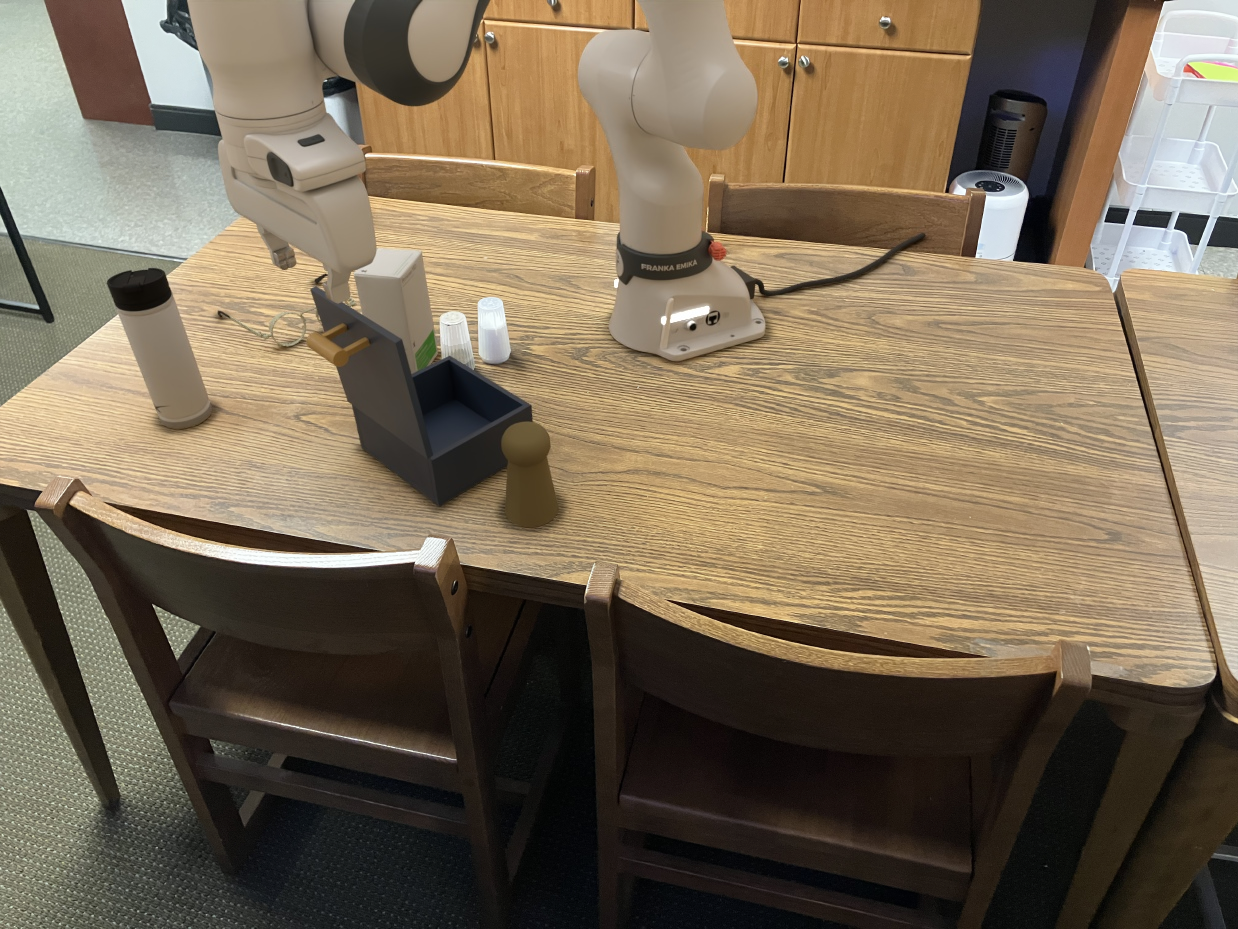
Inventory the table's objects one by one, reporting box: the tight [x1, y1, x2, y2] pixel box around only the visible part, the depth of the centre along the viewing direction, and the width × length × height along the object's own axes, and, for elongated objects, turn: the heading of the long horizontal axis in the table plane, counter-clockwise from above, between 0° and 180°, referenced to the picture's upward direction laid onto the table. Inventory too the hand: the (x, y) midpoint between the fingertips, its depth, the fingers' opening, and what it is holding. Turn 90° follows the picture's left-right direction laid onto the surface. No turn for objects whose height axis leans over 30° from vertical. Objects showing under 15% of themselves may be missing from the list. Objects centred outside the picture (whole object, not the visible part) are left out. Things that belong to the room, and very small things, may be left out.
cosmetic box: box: [353, 247, 439, 374], centre depth 122 cm, size 8×7×16 cm
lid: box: [305, 285, 433, 459], centre depth 98 cm, size 15×15×5 cm
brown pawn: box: [501, 421, 559, 528], centre depth 100 cm, size 6×6×11 cm
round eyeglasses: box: [217, 273, 358, 347], centre depth 135 cm, size 17×15×5 cm
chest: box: [351, 355, 534, 508], centre depth 110 cm, size 14×15×7 cm
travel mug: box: [106, 267, 213, 430], centre depth 112 cm, size 6×7×20 cm
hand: (311, 282), depth 88 cm, fingers open, 8 cm apart
